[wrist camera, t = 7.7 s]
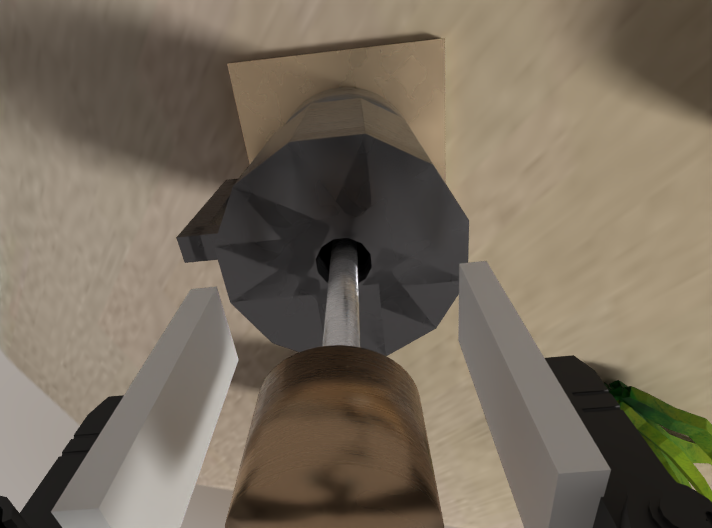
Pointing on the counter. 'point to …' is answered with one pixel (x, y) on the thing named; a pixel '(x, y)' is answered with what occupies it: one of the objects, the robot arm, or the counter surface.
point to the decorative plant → (667, 447)
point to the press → (338, 194)
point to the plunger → (337, 433)
